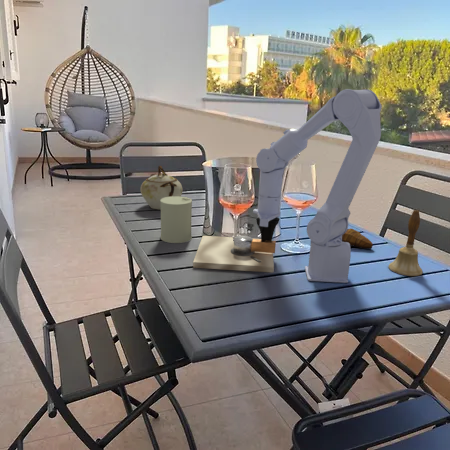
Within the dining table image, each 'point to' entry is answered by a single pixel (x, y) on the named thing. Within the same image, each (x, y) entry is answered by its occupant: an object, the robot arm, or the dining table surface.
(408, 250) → the hand bell
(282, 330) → the dining table surface
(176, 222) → the can
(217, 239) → the base plate
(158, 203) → the sugar bowl
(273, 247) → the wooden handled dome
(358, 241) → the croissant
